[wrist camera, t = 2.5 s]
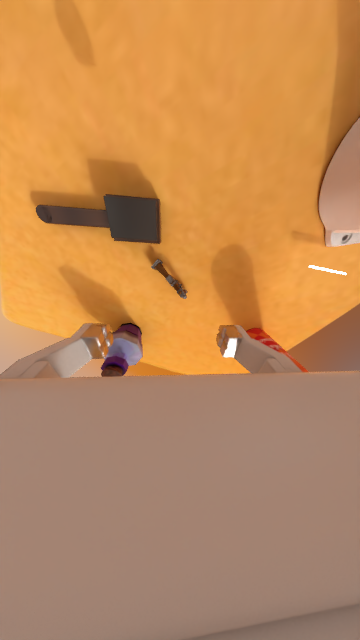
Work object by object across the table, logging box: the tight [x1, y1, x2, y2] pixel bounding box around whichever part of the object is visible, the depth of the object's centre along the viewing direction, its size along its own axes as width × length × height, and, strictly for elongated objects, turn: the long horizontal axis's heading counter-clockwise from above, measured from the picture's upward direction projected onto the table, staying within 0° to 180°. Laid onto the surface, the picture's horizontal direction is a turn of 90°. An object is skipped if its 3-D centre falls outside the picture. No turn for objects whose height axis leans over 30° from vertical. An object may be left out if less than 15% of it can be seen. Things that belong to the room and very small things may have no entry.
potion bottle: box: [101, 323, 143, 377], centre depth 27 cm, size 9×9×12 cm
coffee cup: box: [246, 328, 308, 372], centre depth 28 cm, size 8×8×15 cm
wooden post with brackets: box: [151, 259, 187, 299], centre depth 24 cm, size 2×8×4 cm, turn 45°
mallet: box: [36, 194, 161, 244], centre depth 18 cm, size 17×5×3 cm, turn 87°
